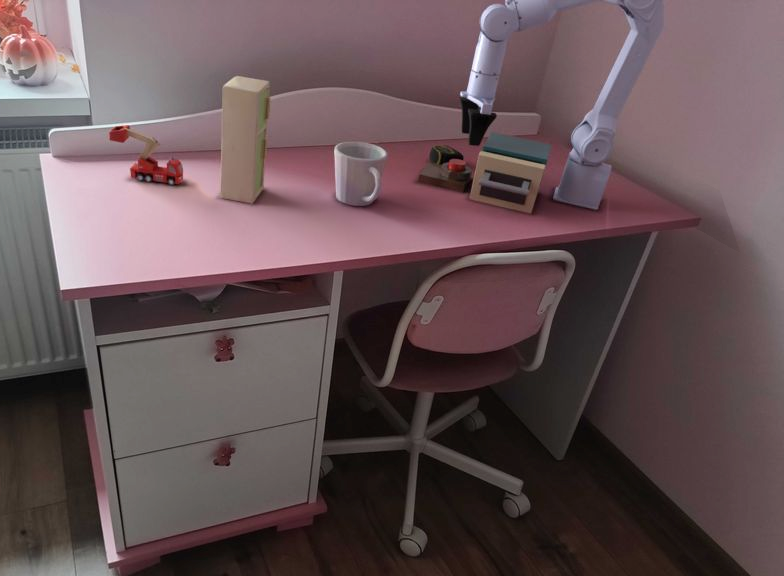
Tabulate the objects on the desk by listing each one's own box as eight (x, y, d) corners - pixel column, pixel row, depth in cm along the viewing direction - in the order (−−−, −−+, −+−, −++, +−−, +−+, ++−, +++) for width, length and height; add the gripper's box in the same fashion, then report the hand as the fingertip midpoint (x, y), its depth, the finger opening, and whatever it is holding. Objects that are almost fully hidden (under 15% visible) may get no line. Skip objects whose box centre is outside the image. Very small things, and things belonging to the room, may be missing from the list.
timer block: (471, 180, 151) (474, 164, 149) (463, 193, 144) (467, 177, 142) (427, 170, 153) (430, 155, 151) (417, 182, 146) (420, 167, 144)
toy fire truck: (180, 186, 131) (179, 138, 126) (112, 177, 132) (108, 128, 126) (185, 180, 134) (184, 132, 129) (118, 171, 134) (114, 123, 129)
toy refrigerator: (256, 205, 128) (262, 91, 116) (219, 198, 129) (221, 85, 117) (267, 190, 134) (273, 81, 122) (232, 183, 135) (235, 75, 123)
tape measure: (462, 168, 156) (466, 153, 154) (439, 171, 153) (442, 155, 151) (445, 158, 161) (448, 143, 159) (422, 160, 158) (425, 144, 156)
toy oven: (531, 210, 140) (547, 159, 133) (470, 196, 143) (483, 145, 136) (537, 193, 148) (552, 144, 142) (479, 180, 151) (491, 131, 145)
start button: (465, 168, 147) (467, 161, 146) (462, 174, 145) (464, 166, 144) (449, 165, 148) (451, 157, 147) (446, 170, 145) (448, 162, 144)
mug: (367, 187, 141) (374, 140, 135) (398, 217, 130) (407, 167, 124) (321, 189, 137) (326, 141, 132) (349, 221, 126) (356, 170, 121)
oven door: (527, 224, 136) (541, 178, 128) (465, 209, 139) (474, 163, 131) (532, 209, 139) (545, 164, 131) (470, 195, 142) (480, 150, 134)
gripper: (459, 61, 140) (445, 126, 147) (473, 78, 128) (457, 148, 136) (492, 64, 140) (477, 129, 148) (509, 82, 128) (491, 152, 136)
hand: (470, 139), depth 142 cm, fingers open, 7 cm apart
